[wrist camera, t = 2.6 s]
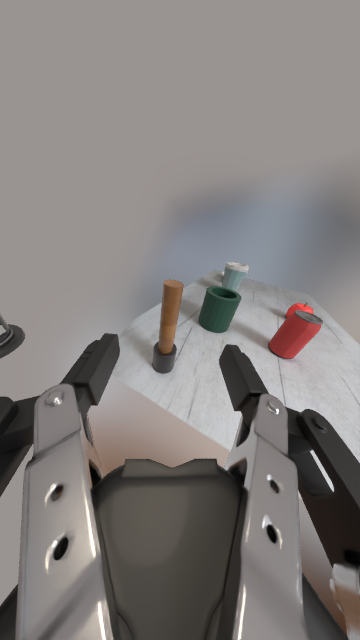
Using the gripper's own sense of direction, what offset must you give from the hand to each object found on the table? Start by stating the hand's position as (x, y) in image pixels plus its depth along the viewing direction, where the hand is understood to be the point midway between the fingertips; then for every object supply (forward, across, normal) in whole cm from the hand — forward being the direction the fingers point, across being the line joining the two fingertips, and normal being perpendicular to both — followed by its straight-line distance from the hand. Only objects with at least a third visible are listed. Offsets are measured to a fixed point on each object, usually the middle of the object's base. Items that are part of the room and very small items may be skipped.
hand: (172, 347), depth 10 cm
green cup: (+29, -15, +17) cm, 37 cm away
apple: (+38, -52, +17) cm, 67 cm away
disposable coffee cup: (+57, -29, +17) cm, 66 cm away
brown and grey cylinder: (+11, 0, +17) cm, 20 cm away
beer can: (+19, -33, +17) cm, 41 cm away
